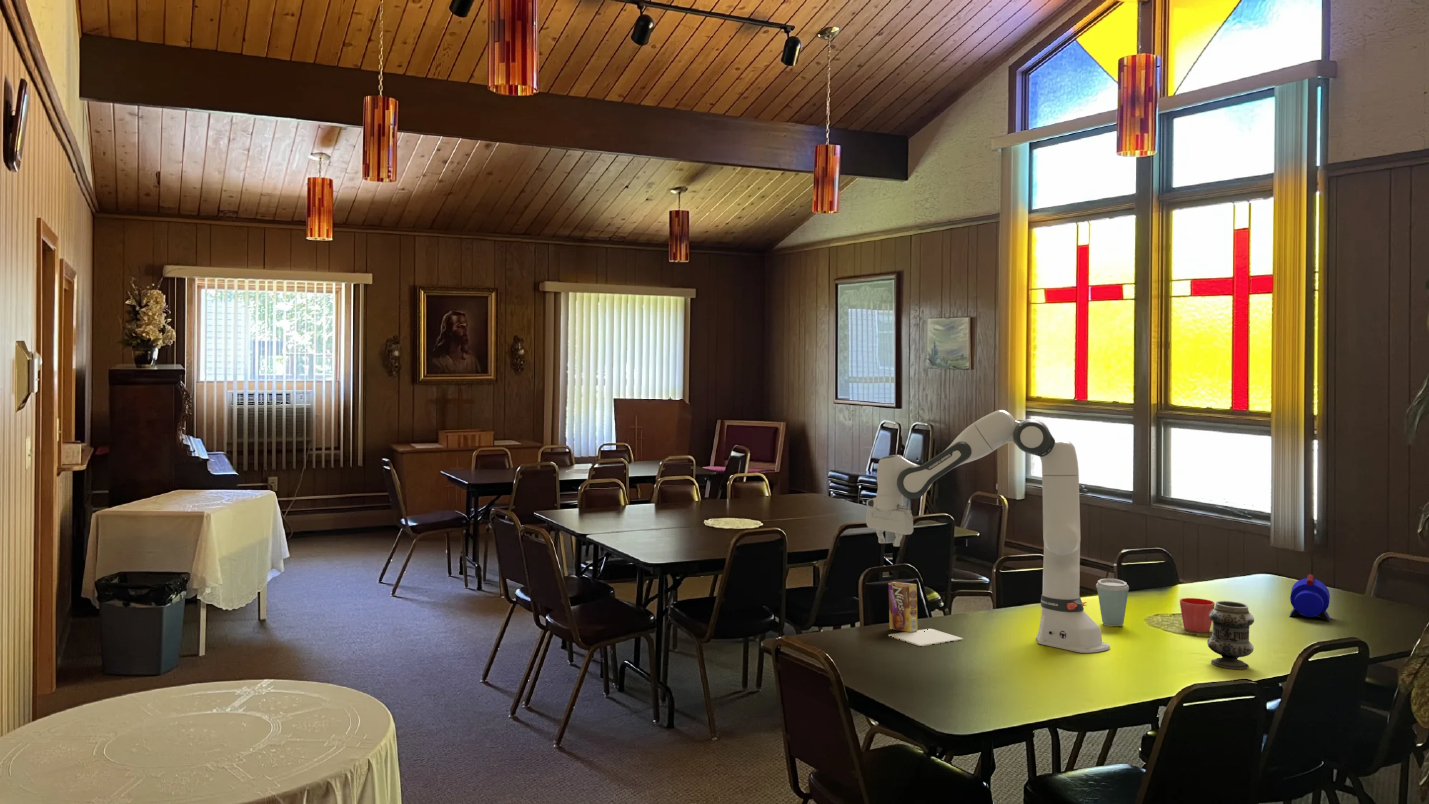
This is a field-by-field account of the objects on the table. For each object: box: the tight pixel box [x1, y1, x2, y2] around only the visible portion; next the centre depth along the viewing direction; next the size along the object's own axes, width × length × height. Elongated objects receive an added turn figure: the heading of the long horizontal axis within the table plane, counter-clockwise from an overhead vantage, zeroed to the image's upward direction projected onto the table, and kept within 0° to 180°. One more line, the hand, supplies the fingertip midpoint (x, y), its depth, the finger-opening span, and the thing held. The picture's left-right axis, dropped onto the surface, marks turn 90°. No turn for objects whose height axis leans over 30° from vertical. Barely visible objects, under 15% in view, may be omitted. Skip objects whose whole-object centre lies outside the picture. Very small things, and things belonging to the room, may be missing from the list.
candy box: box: [888, 581, 919, 632], centre depth 331 cm, size 9×4×15 cm, turn 39°
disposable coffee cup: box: [1095, 578, 1130, 627], centre depth 344 cm, size 11×11×15 cm
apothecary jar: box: [1207, 600, 1255, 670], centre depth 295 cm, size 12×12×18 cm
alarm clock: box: [1289, 573, 1331, 623], centre depth 361 cm, size 12×12×15 cm
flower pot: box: [1179, 597, 1216, 633], centre depth 339 cm, size 11×11×10 cm
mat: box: [887, 628, 964, 647], centre depth 322 cm, size 15×18×1 cm
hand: (889, 544), depth 337 cm, fingers open, 6 cm apart
